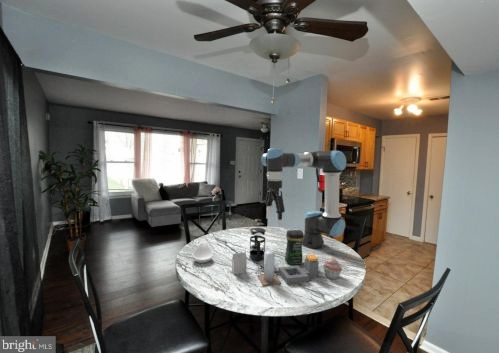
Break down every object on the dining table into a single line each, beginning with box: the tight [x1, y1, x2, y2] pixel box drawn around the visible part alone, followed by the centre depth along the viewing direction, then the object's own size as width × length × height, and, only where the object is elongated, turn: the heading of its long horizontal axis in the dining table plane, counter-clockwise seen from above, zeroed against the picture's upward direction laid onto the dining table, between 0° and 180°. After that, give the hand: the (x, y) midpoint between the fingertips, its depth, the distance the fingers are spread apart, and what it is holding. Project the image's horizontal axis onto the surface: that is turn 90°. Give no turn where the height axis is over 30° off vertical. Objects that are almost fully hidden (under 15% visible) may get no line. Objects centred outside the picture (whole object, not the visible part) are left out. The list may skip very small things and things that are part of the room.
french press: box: [249, 218, 266, 262], centre depth 137 cm, size 12×9×23 cm
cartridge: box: [263, 250, 276, 282], centre depth 112 cm, size 5×5×13 cm
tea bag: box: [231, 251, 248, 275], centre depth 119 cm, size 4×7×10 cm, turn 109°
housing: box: [278, 257, 320, 285], centre depth 116 cm, size 18×11×8 cm, turn 104°
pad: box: [257, 272, 282, 287], centre depth 112 cm, size 9×9×1 cm
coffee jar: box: [284, 229, 304, 265], centre depth 132 cm, size 10×8×19 cm
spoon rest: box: [191, 240, 214, 264], centre depth 137 cm, size 24×12×7 cm, turn 10°
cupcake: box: [322, 256, 343, 280], centre depth 117 cm, size 9×9×10 cm
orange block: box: [304, 254, 319, 262], centre depth 117 cm, size 5×5×6 cm
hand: (273, 221), depth 117 cm, fingers open, 13 cm apart
